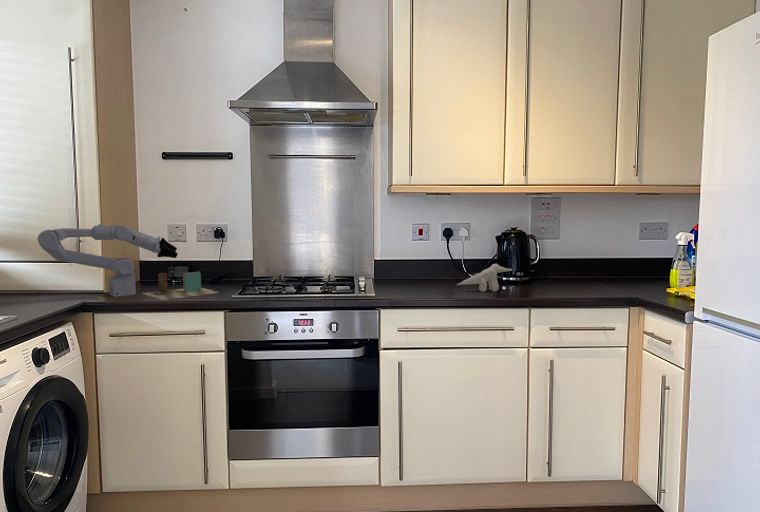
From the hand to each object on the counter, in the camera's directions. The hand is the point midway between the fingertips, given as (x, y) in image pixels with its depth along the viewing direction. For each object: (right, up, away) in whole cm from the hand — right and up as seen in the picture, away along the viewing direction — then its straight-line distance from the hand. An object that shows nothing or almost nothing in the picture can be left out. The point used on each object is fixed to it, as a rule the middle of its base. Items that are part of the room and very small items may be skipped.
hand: (176, 253), depth 224 cm
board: (+5, -18, -7) cm, 19 cm away
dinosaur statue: (+130, -16, -6) cm, 131 cm away
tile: (+8, -16, -4) cm, 18 cm away
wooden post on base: (-2, -17, -9) cm, 19 cm away
